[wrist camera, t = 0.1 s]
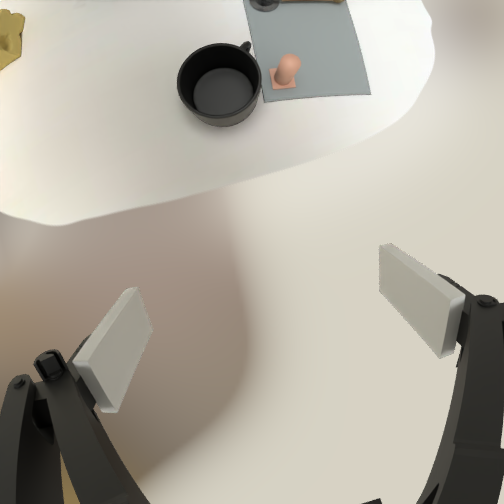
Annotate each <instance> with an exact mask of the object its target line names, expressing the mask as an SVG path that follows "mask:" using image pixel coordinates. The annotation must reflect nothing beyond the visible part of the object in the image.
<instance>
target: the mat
mask: <svg viewBox="0 0 504 504" xmlns="http://www.w3.org/2000/svg"><path fill="white" fill-rule="evenodd" d="M243 2H244V6H245V10H246V15H247V19H248V23H249V28H250V33H251V37H252V42H253V47H254V51H255V56H256V61H257V63H258V65H259V67H260V70H261V75H262V83H261V86H262V91H263V96H264V101H265V102H272V101H280V100H289V99H298V98H309V97H322V96H339V95H370V94H371V92H370V87H369V82H368V78H367V73H366V69H365V65H364V61H363V57H362V53H361V49H360V45H359V41H358V38H357V34H356V31H355V28H354V24H353V21H352V18H351V15H350V11H349V8H348V5H347V2H346V0H344V2H341V3H336V2H333V1H281V0H280V2H279V6H278V7H277V8H276V9H275V10H273V11H271V12H260V11H257V10H255V9H254V8H252V6H251V5H250V2H249V0H243ZM286 54H294V55H296V56H298V57H299V59H300V61H301V66H300V68H299V70H298V71H297V73H296V74H295V76H294V80H295V85H296V88H287V89H278V90H273V88H272V83H271V78H270V73H269V69H273V68H277V67H278V65H279V63H280V60H281V58H282V57H283V56H284V55H286Z"/></svg>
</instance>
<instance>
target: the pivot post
mask: <svg viewBox="0 0 504 504" xmlns="http://www.w3.org/2000/svg"><path fill="white" fill-rule="evenodd" d="M249 2H250V5H251V6H252V8H254V9H255V10H257V11H260V12H271V11H273V10H275V9H276V8H277V7H278V6H279V2H280V0H249Z"/></svg>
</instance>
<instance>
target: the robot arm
mask: <svg viewBox="0 0 504 504" xmlns="http://www.w3.org/2000/svg"><path fill="white" fill-rule="evenodd" d="M379 265H380V266H379V268H380V270H379V272H380V275H379V280H380V281H379V285H380V286H379V291H380V292H381V294H382V295H383V296H384V297H385V298H386V299H387V300H388V301H389V302H390V303H391V304H392V305H393V306H394V308H395V309H396V310H397V311H398V312H399V313H400V314H401V315H402V316H403V317H404V318H405V320H406V321H407V322H408V323H409V324H410V325H411V326H412V328H413V329H414V330H415V331H416V332H417V333H418V334H419V335H420V337H421V338H422V339H423V340H424V341H425V342H426V343H427V345H428V346H429V347H430V348H431V349H432V351H433V352H434V353H435V354H436V355H437V356H438V358H439V359H441V358H443V357H446V356H448V355H451V354H453V353H454V350H455V346H456V341H457V342H458V343H459V344H460V345H461V350H460V354H459V358H458V361H457V365H456V367H458V369H457V374H456V380H455V386H454V391H453V396H452V400H451V405H450V410H449V413H448V417H447V421H446V425H445V429H444V433H443V436H442V440H441V443H440V446H439V449H438V452H437V456H436V459H435V461H434V464H433V467H432V470H431V473H430V475H429V478H428V481H427V483H426V486H425V488H424V490H423V492H422V494H421V496H420V498H419V499H418V501H417V503H416V504H497V503H498V499H499V495H500V490H501V486H502V481H503V476H504V449H502V448H501V446H500V445H501V436H502V427H503V416H504V303H499V302H498V300H497V299H495V298H494V297H492V296H489V295H477V296H474V295H473V294H471V293H470V292H468V291H467V290H466V289H464V288H463V287H462V286H460V285H459V284H457V283H455V281H453V280H452V279H450V278H449V277H446V276H444V275H441V274H436V273H434V272H433V271H432V270H430V269H429V268H427V267H426V266H424V265H423V264H422V263H420V262H418V261H417V260H416V259H414V258H413V257H411V256H410V255H408V254H406V253H405V252H404V251H402V250H401V249H399V248H398V247H396V246H394V245H393V244H385V245H380V246H379ZM152 331H153V327H152V325H151V322H150V319H149V316H148V314H147V311H146V308H145V305H144V302H143V299H142V296H141V293H140V290H139V287H134V288H127V289H126V290H125V291H124V292H123V294H122V295H121V296H120V297H119V299H118V300H117V302H116V303H115V304H114V305H113V306H112V308H111V309H110V310H109V312H108V313H107V314H106V316H105V317H104V318H103V320H102V321H101V322H100V324H99V325H98V326H97V328H96V329H95V331H94V332H93V333H92V334H90V335H89V336H88V337H86V338H85V339H84V340H83V342H82V343H81V344H80V345H79V347H78V348H77V350H76V351H75V352H74V354H73V355H72V357H71V358H70V359H69V361H68V362H67V363H65V361H64V359H63V357H62V355H61V353H60V352H59V351H58V350H55V349H54V350H48V351H45V352H44V353H42V354H40V355H39V356H38V357H37V358H36V359H35V361H34V366H35V368H36V370H37V371H38V373H39V375H40V376H41V378H42V380H43V381H42V382H37V383H34V382H33V381H32V379H31V378H30V376H29V375H27V374H23V375H19V376H16V377H15V378H14V379H12V381H11V382H10V384H9V385H8V388H7V391H6V395H5V399H4V402H3V406H2V410H1V414H0V504H64V499H63V490H62V479H61V462H60V451H61V454H62V457H63V460H64V463H65V466H66V469H67V471H68V475H69V477H70V480H71V482H72V485H73V487H74V490H75V492H76V495H77V497H78V499H79V502H80V504H150V503H149V501H148V500H147V499H146V497H145V496H144V494H143V493H142V492H141V490H140V488H139V487H138V485H137V484H136V483H135V481H134V479H133V478H132V476H131V475H130V473H129V472H128V470H127V468H126V467H125V465H124V464H123V462H122V461H121V459H120V457H119V455H118V454H117V452H116V450H115V448H114V446H113V445H112V443H111V441H110V439H109V437H108V435H107V433H106V432H105V430H104V428H103V426H102V424H101V422H100V420H99V418H98V416H97V414H96V412H95V411H94V409H93V408H94V406H95V403H97V404H98V406H99V408H100V409H101V411H102V412H109V413H118V410H119V407H120V405H121V403H122V400H123V398H124V395H125V393H126V391H127V388H128V386H129V383H130V381H131V378H132V377H133V374H134V372H135V369H136V367H137V365H138V363H139V360H140V358H141V356H142V353H143V351H144V349H145V347H146V345H147V342H148V340H149V338H150V336H151V334H152ZM363 504H382V502H381V500H380V498H379V499H376V500H372V501H369V502H366V503H363Z"/></svg>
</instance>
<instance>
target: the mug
mask: <svg viewBox="0 0 504 504" xmlns="http://www.w3.org/2000/svg"><path fill="white" fill-rule="evenodd" d="M250 48H251V43H250V42H249V41H247V42H244V43H243V44H242V45H241V46H240V47H239V46H236V45H232V44H227V43H216V44H211V45H207V46H204V47H202V48H200V49H198V50H196V51H195V52H193V53H192V54H191V55H190V56H189V57H188V58H187V59H186V60H185V61H184V63H183V64H182V66H181V68H180V70H179V73H178V77H177V89H178V93H179V96H180V98H181V100H182V102H183V103H184V104H185V106H186V107H187V108H188V109H189V110H190V111H192V112H193V113H194V114H195V115H196V116H197V117H198V118H199V119H200V120H202V121H203V122H205V123H207V124H209V125H212V126H217V127H228V126H232V125H235V124H238V123H240V122H241V121H243V120H244V119H246V118H247V117H248V116H249V115H250V114H251V113H252V111H253V110H254V108H255V106H256V103H257V99H258V96H259V92H260V89H261V83H262V75H261V70H260V67H259V65H258V63H257V61H256V60H255V58H254V57H253V56H252V55H251V54H250V53H249V51H250Z"/></svg>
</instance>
